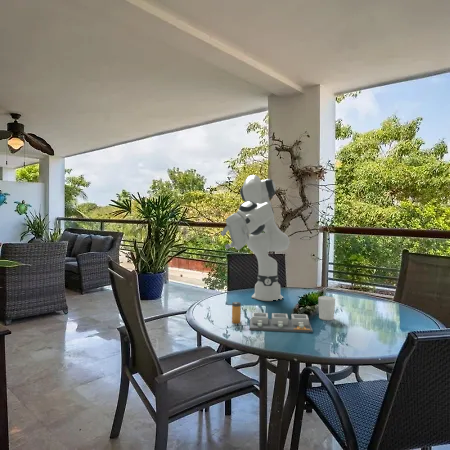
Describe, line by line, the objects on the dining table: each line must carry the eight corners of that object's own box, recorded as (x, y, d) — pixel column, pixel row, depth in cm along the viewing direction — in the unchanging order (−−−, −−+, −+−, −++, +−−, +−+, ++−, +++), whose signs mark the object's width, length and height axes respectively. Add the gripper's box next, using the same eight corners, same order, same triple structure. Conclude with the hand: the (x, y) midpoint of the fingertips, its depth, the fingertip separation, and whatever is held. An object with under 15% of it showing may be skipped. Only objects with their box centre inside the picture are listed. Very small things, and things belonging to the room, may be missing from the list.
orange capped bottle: (232, 320, 169) (232, 301, 168) (240, 321, 168) (241, 302, 168) (231, 323, 165) (231, 303, 164) (240, 323, 164) (240, 304, 164)
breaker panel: (250, 320, 170) (250, 311, 170) (308, 322, 167) (308, 314, 167) (249, 329, 156) (249, 320, 156) (312, 332, 153) (312, 323, 153)
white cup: (334, 316, 177) (335, 296, 176) (335, 321, 169) (335, 300, 169) (318, 315, 179) (318, 295, 178) (317, 320, 171) (318, 299, 171)
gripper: (246, 236, 183) (224, 251, 179) (238, 207, 169) (215, 223, 165) (253, 242, 179) (232, 258, 175) (246, 213, 165) (222, 230, 161)
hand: (223, 241), depth 170 cm, fingers open, 8 cm apart
